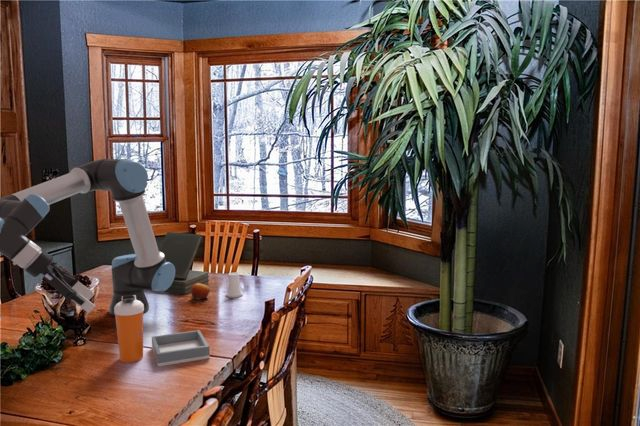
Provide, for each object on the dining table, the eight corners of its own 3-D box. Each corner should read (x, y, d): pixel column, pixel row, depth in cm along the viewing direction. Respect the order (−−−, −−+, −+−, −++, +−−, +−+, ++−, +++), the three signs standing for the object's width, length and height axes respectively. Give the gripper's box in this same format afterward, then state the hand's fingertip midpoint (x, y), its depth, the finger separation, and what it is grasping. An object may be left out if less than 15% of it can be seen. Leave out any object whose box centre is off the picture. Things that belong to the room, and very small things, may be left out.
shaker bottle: (118, 366, 166) (115, 303, 163) (115, 355, 173) (111, 296, 171) (148, 360, 170) (145, 299, 167) (143, 350, 178) (140, 292, 175)
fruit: (184, 297, 231) (189, 280, 234) (194, 302, 238) (199, 285, 241) (200, 300, 228) (205, 282, 231) (209, 304, 235) (214, 287, 238)
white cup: (246, 294, 242) (245, 273, 240) (235, 298, 235) (234, 276, 234) (233, 291, 246) (233, 270, 244) (222, 295, 239) (221, 274, 238)
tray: (152, 348, 180) (151, 336, 179) (199, 340, 186) (199, 329, 186) (158, 366, 165) (157, 354, 165) (209, 358, 172) (209, 346, 171)
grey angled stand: (143, 290, 250) (141, 237, 246) (170, 279, 268) (168, 230, 264) (184, 295, 241) (183, 241, 238) (209, 284, 259) (207, 233, 256)
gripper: (27, 260, 167) (83, 301, 175) (18, 279, 145) (82, 325, 153) (45, 242, 169) (99, 283, 177) (39, 258, 146) (101, 305, 154)
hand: (92, 303), depth 165 cm, fingers open, 13 cm apart
